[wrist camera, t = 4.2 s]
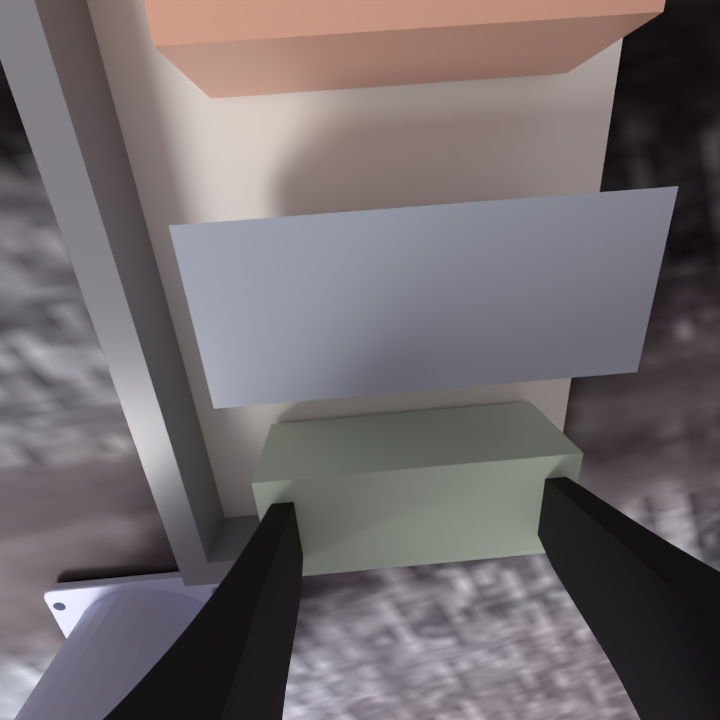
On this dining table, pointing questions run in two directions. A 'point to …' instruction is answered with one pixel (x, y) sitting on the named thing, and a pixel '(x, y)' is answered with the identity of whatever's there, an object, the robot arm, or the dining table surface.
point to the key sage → (414, 484)
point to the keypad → (255, 201)
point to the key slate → (423, 295)
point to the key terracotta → (381, 40)
